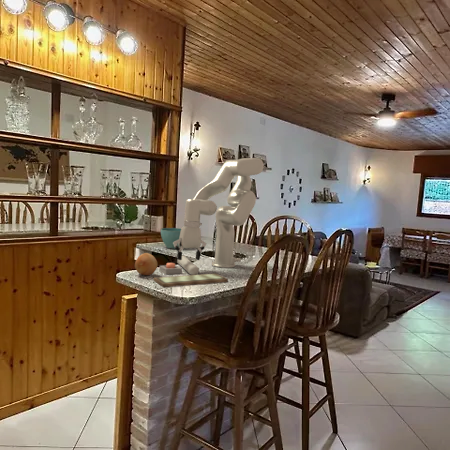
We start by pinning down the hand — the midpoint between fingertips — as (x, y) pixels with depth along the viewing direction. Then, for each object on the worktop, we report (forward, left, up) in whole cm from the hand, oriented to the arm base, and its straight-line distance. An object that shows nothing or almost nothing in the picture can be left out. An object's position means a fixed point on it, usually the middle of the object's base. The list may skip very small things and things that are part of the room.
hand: (188, 259), depth 184 cm
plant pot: (-19, -63, -5) cm, 66 cm away
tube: (0, -1, -6) cm, 6 cm away
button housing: (+10, +2, -5) cm, 11 cm away
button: (+10, +2, -4) cm, 11 cm away
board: (+8, +20, -5) cm, 22 cm away
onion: (+23, +5, -5) cm, 24 cm away
